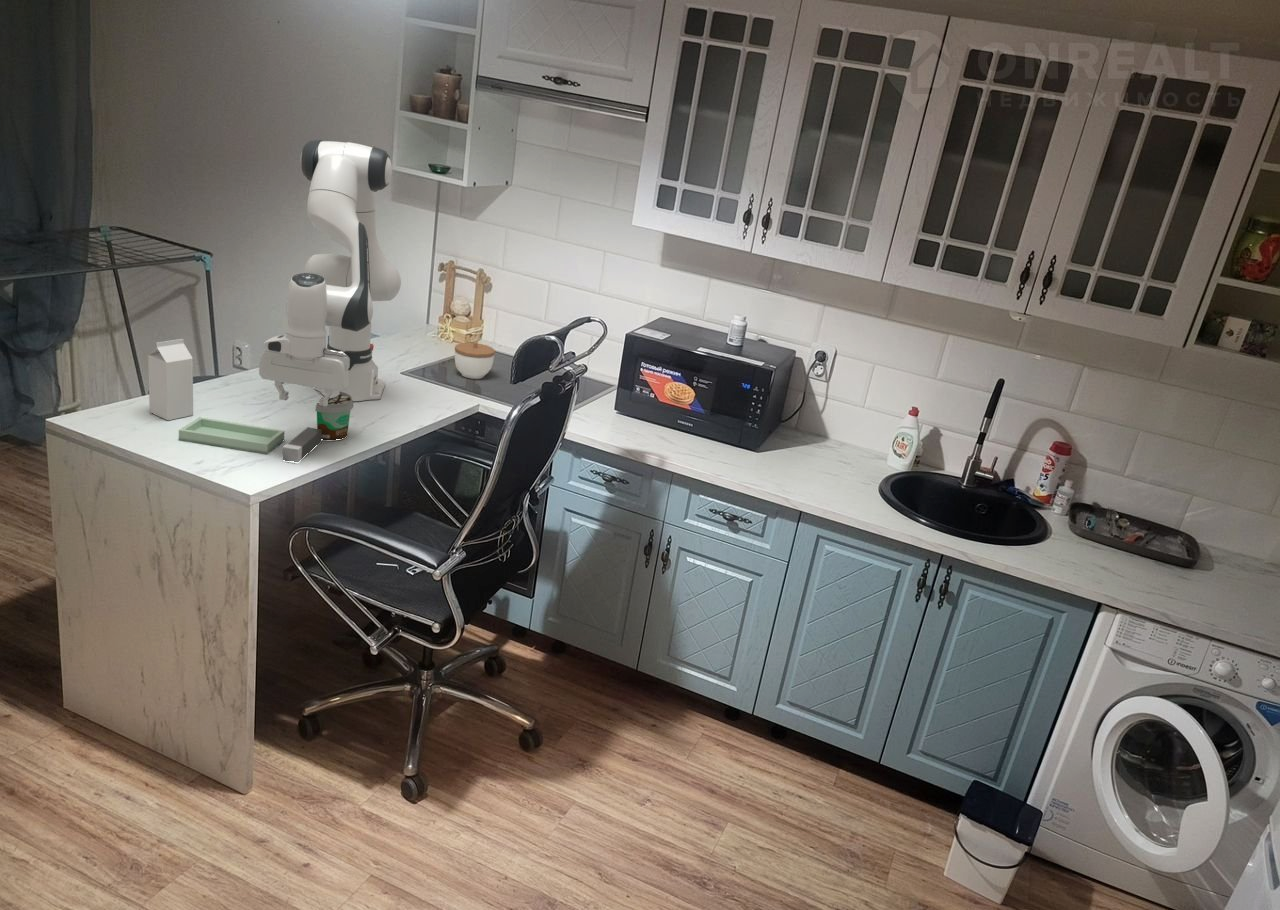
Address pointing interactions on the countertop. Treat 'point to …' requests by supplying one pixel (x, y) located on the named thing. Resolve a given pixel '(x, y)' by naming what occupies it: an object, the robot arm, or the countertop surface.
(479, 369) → the lidded bowl
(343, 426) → the food container
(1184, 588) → the countertop surface
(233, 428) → the tray
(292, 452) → the dark grey bar
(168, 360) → the milk carton
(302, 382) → the robot arm
